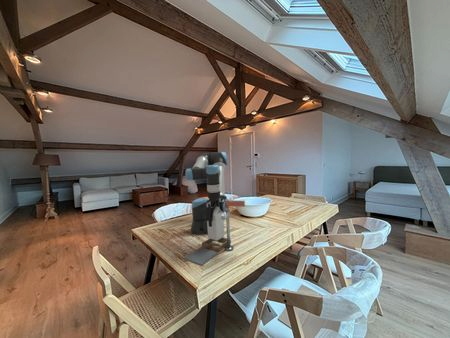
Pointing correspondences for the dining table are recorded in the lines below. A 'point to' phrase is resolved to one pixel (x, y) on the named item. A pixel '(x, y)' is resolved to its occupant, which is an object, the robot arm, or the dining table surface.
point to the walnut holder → (215, 248)
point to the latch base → (229, 248)
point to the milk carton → (216, 225)
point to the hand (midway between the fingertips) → (215, 228)
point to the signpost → (227, 213)
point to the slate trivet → (200, 256)
